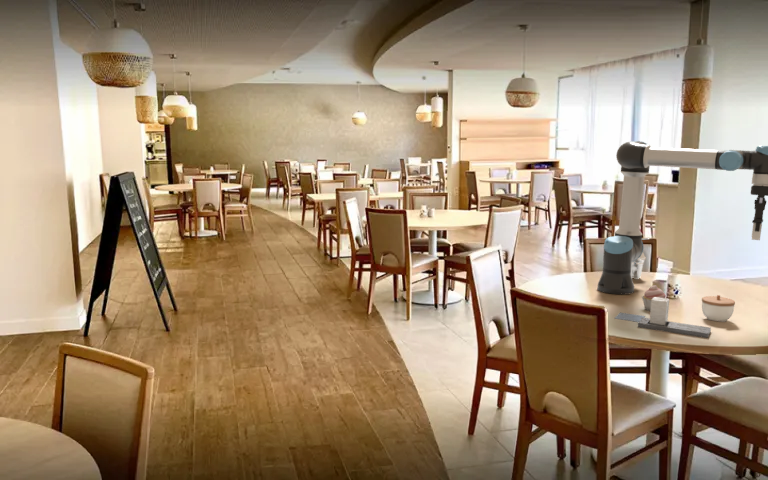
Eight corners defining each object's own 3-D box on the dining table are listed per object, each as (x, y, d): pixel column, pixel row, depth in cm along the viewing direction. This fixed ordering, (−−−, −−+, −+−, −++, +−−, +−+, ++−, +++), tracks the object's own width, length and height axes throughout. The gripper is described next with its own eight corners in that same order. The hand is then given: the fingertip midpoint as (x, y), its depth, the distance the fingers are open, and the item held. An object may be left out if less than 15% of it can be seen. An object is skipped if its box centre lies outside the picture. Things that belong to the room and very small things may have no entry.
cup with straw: (633, 275, 304) (636, 235, 300) (649, 279, 296) (652, 237, 293) (621, 277, 299) (624, 236, 296) (637, 281, 292) (640, 238, 288)
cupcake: (667, 314, 237) (669, 288, 235) (641, 311, 240) (642, 286, 238) (665, 307, 245) (667, 283, 244) (640, 305, 248) (641, 281, 247)
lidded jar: (694, 316, 234) (696, 292, 232) (721, 315, 235) (723, 291, 233) (711, 324, 223) (713, 299, 222) (739, 324, 224) (742, 298, 223)
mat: (614, 319, 229) (614, 318, 229) (620, 313, 237) (620, 312, 237) (640, 323, 224) (640, 322, 224) (645, 317, 232) (645, 316, 232)
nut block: (649, 327, 218) (651, 299, 216) (652, 324, 222) (654, 296, 220) (664, 329, 215) (666, 301, 214) (667, 326, 219) (669, 298, 218)
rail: (637, 328, 219) (638, 322, 218) (642, 322, 225) (642, 317, 225) (707, 339, 207) (708, 333, 206) (710, 333, 213) (710, 327, 213)
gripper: (774, 185, 233) (767, 241, 236) (772, 186, 255) (765, 237, 257) (751, 184, 237) (744, 239, 239) (751, 185, 258) (744, 235, 261)
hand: (755, 238), depth 248 cm, fingers open, 13 cm apart
